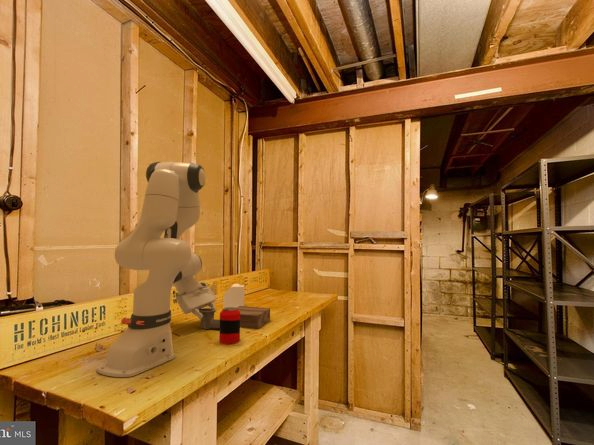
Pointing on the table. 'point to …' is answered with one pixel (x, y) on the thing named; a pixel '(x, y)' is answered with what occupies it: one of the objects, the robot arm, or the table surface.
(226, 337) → the soda can
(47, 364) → the table surface
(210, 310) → the pipe
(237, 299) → the corner bracket
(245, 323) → the walnut block
